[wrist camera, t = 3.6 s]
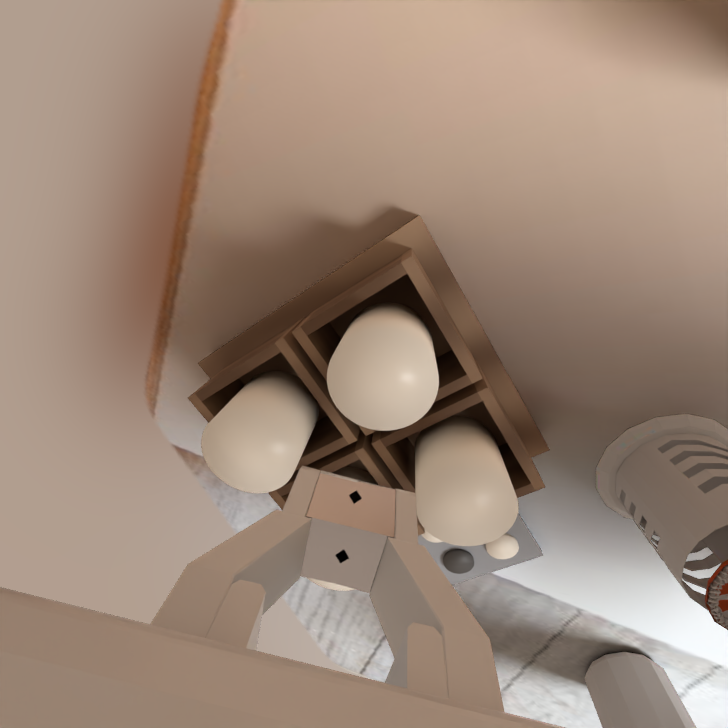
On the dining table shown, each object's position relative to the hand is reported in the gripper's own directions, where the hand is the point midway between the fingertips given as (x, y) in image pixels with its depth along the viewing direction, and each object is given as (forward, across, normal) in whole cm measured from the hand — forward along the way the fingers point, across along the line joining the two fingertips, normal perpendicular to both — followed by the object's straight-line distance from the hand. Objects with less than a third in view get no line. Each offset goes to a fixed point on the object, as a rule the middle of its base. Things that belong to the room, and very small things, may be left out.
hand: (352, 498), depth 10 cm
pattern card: (+17, -11, +16) cm, 26 cm away
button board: (+18, 0, +6) cm, 18 cm away
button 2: (+13, +5, +6) cm, 15 cm away
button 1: (+13, 0, 0) cm, 13 cm away
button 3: (+12, -6, +6) cm, 15 cm away
